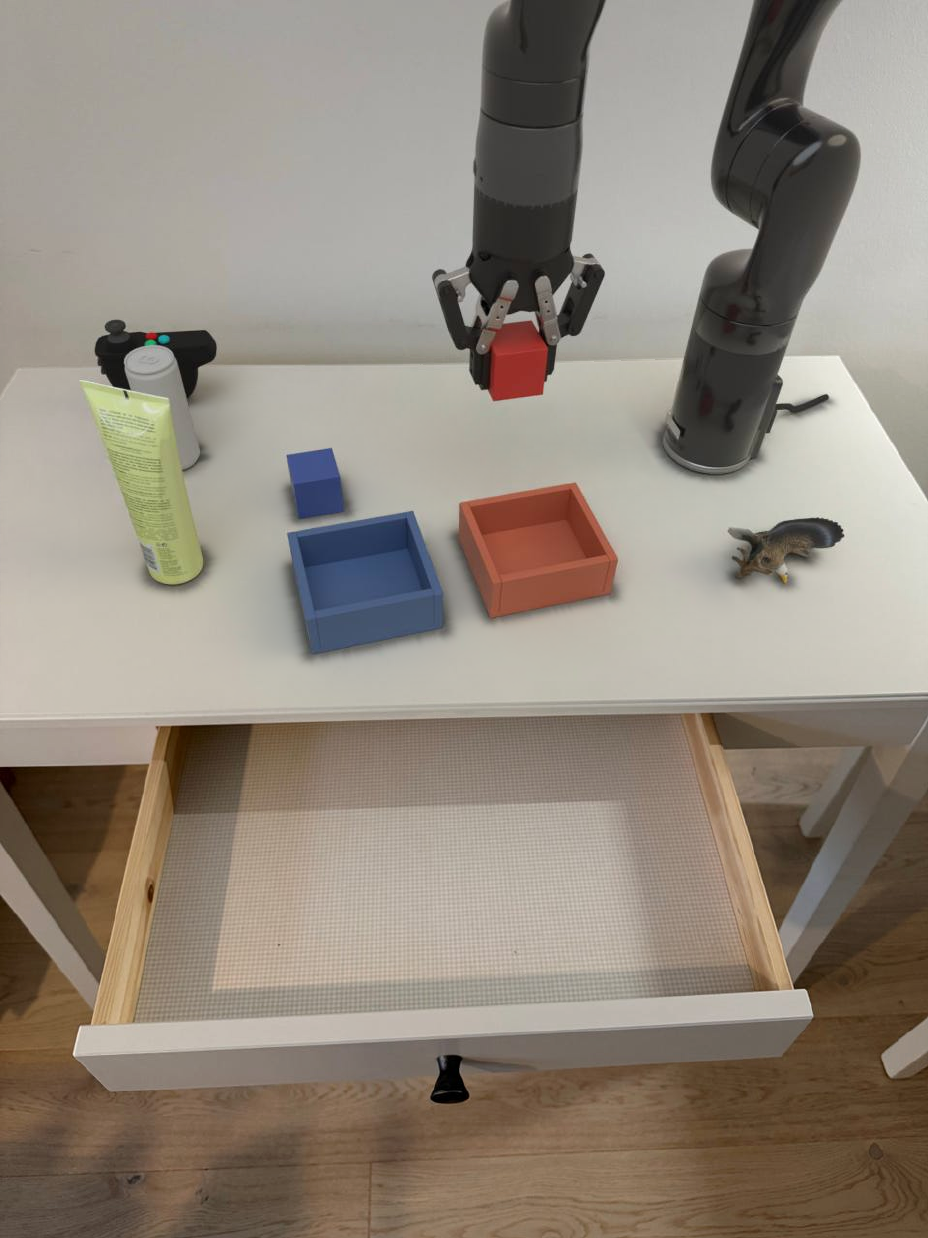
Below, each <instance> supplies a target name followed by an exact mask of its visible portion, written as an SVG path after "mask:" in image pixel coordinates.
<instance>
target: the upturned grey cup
mask: <svg viewBox="0 0 928 1238" xmlns="http://www.w3.org/2000/svg"><path fill="white" fill-rule="evenodd" d="M124 364H125V373H126V376H127V379H128V382H129V385H130V388H131V391H135V392H140V393H145V394H149V395H154V396H160V397H165V398H169V401H170V406H171V415H172V422H173V428H174V433H175V438H176V443H177V448H178V453H179V458H180V462H181V467H182V471H184V470H187V469H190V468H191V467H192V466H193V465H195V464H196V463H197V461H198V459H199V458H200V455H201V449H200V445H199V441H198V437H197V433H196V430H195V426H194V425H195V424H194V421H193V418H192V413H191V410H190V406H189V402H188V399H187V398H186V394H185V391H184V387H183V383H182V379H181V375H180V371H179V368H178V364H177V361H176V359H175V357H174V355H173V353H172V351H171V350H170V349H168V348H166V347H163V346H158V345H149V346H143V347H139V348H137V349H134V350H133V351H131V352H130V353H129V354H127V355H126V357H125V359H124Z"/></svg>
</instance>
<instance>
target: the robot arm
mask: <svg viewBox="0 0 928 1238" xmlns="http://www.w3.org/2000/svg"><path fill="white" fill-rule="evenodd" d="M843 1H844V0H753V1H752V5H751V10H750V14H749V18H748V22H747V27H746V31H745V35H744V39H743V43H742V46H741V49H740V53H739V56H738V60H737V64H736V68H735V71H734V74H733V77H732V82H731V84H730V89H729V92H728V94H727V95H728V96H727V99H726V102H725V105H724V109H723V112H722V116H721V119H720V123H719V126H718V130H717V135H716V138H715V142H714V146H713V151H712V157H711V162H710V163H711V164H710V187H711V190H712V193H713V196H714V198H715V199H716V201H717V202H718V203H719V204H720V205H721V206H722V207H723V208H724V209H725V210H727V211H728V212H729V213H731V214H732V215H734V216H736V217H737V218H739V219H741V220H742V221H744V222H745V223H747V224H749V225H750V226H752V227H753V228H755V229H756V230H758V231H757V235H756V238H755V241H754V244H753V247H752V248H740V249H734V250H729V251H726V252H723V253H720V254H719V255H717V256H715V257H714V258H713V259H712V260H711V261H710V262H709V263H708V264H707V267H706V269H705V272H704V275H703V278H702V281H701V286H700V291H699V295H698V298H697V303H696V307H695V311H694V315H693V319H692V323H691V327H690V331H689V335H688V340H687V344H686V348H685V352H684V356H683V360H682V364H681V368H680V373H679V375H678V379H677V380H678V381H677V385H676V389H675V393H674V397H673V401H672V405H671V410H670V413H669V412H668V411H667V412H666V416H665V423H666V427H665V430H664V434H663V438H662V444H663V448H664V450H665V452H666V453H667V455H668V456H669V457H670V458H671V459H672V460H673V461H674V462H676V463H677V464H678V465H680V466H682V467H684V468H686V469H689V470H691V471H694V472H698V473H703V474H709V475H723V474H730V473H733V472H736V471H738V470H740V469H741V468H744V467H745V466H746V465H747V464H748V462H749V461H750V460H751V459H756V458H758V455H759V454H760V451H761V448H762V445H763V443H764V439H765V436H766V434H770V433H771V431H772V428H773V425H774V422H775V420H776V417H777V414H778V411H782V410H783V411H788V412H789V413H799V412H803V411H805V410H809V409H811V408H813V407H815V406H817V405H819V404H822V403H824V402H826V401H828V400H829V399H830V396H829V395H828V394H827V393H824V394H822V395H819V396H817V397H815V398H813V399H811V400H809V401H806V402H804V403H801V404H797V405H793V404H792V403H789V402H788V403H787V402H783V403H782V402H780V403H778V400H779V396H780V394H781V392H782V389H783V386H784V381H783V378H782V377H781V376H780V375H779V372H780V369H781V366H782V363H783V360H784V358H785V354H786V352H787V348H788V346H789V343H790V339H791V337H792V334H793V331H794V328H795V325H796V322H797V319H798V316H799V314H800V311H801V308H802V305H803V303H804V300H805V299H806V297H807V295H808V293H809V292H810V290H811V289H812V287H813V286H814V284H815V282H816V281H817V279H818V278H819V276H820V274H821V272H822V270H823V267H824V265H825V263H826V260H827V258H828V255H829V253H830V250H831V248H832V245H833V242H834V240H835V238H836V235H837V233H838V230H839V228H840V226H841V223H842V221H843V219H844V216H845V215H846V214H845V213H846V211H847V209H848V206H849V205H850V202H851V199H852V196H853V193H854V191H855V188H856V185H857V181H858V178H859V175H860V169H861V164H862V163H861V161H862V148H861V143H860V141H859V139H858V137H857V135H856V134H855V133H854V132H853V131H852V130H850V129H849V128H847V127H846V126H844V125H843V124H840V123H838V122H836V121H834V120H832V119H830V118H828V117H826V116H824V115H822V114H819V113H817V112H816V111H813V110H811V109H809V108H808V107H806V106H804V99H805V92H806V89H807V83H808V80H809V75H810V71H811V68H812V64H813V61H814V57H815V55H816V51H817V49H818V46H819V43H820V40H821V38H822V36H823V33H824V31H825V29H826V27H827V25H828V23H829V21H830V19H831V18H832V17H833V15H834V13H835V12H836V11H837V9H838V7H839V6H840V5H841V3H842V2H843ZM606 3H607V0H505V1H502V2H501V3H500V4H498V5H497V6H496V7H495V8H493V10H492V11H491V12H490V14H489V16H488V18H487V19H486V23H485V27H484V33H483V40H482V54H481V75H480V107H479V120H478V125H477V131H476V135H475V136H476V137H475V148H474V149H475V150H474V159H473V163H472V173H473V177H474V178H473V179H474V180H473V184H474V185H473V207H472V209H473V210H472V211H473V212H472V238H471V239H472V243H471V245H472V246H471V251H470V253H469V255H468V257H467V259H466V262H465V266H463V267H461V268H458V269H456V270H453V271H450V272H447V271H446V270H445V269H442V268H438V269H436V270H435V271H434V272H433V273H432V275H431V279H432V283H433V285H434V289H435V293H436V296H437V299H438V302H439V305H440V309H441V312H442V316H443V318H444V321H445V325H446V328H447V331H448V333H449V336H450V338H451V340H452V341H453V344H454V346H455V348H456V350H457V351H464V350H466V349H468V350H469V366H468V372H469V374H470V375H471V378H472V381H473V383H474V385H475V386H478V387H479V389H480V391H488V389H489V388H490V373H491V355H492V354H491V352H490V348H491V345H492V343H493V340H494V338H495V335H496V332H497V331H500V329H501V327H502V325H503V324H504V322H505V320H506V317H507V316H508V315H509V316H510V315H514V314H516V313H520V312H524V313H525V312H526V313H534V316H535V320H536V323H537V328H538V332H539V334H540V336H541V337H542V339H543V341H544V343H545V344H546V346H547V348H548V354H547V363H546V372H545V381H544V383H546V382H548V376H552V375H553V372H554V371H555V363H556V355H557V348H558V344H559V343H560V341H561V340H562V339H563V338H564V337H567V336H571V337H576V336H578V335H580V334H581V332H582V331H583V328H584V326H585V323H586V321H587V318H588V316H589V314H590V311H591V309H592V307H593V304H594V302H595V299H596V297H597V295H598V292H599V290H600V288H601V286H602V283H603V280H604V279H605V276H606V271H605V269H604V268H603V267H602V265H601V263H600V262H599V260H598V259H597V258H596V257H595V255H593V253H590V252H589V253H586V254H583V256H577V255H573V253H572V250H571V244H572V241H573V235H574V225H575V216H576V210H577V202H578V193H579V192H578V191H579V184H580V175H581V169H582V168H581V167H582V159H583V150H584V149H583V148H584V109H585V101H586V100H585V99H586V92H587V83H588V75H589V67H590V56H591V55H590V54H591V46H592V42H593V39H594V36H595V33H596V30H597V27H598V25H599V23H600V20H601V17H602V15H603V12H604V9H605V6H606ZM568 277H569V279H570V281H571V283H570V285H569V287H568V291H567V293H566V295H565V298H564V300H563V303H562V306H561V308H560V311H559V313H557V309H556V304H555V300H554V295H555V294H556V293H557V291H558V290H559V288H560V287H561V286H562V284H563V283H564V282H565V281H566V280H567V278H568ZM470 284H472V286H473V287H474V289H476V291H477V292H478V297H477V301H476V303H475V306H474V307H475V308H474V311H475V313H474V316H473V319H472V322H471V325H470V326H469V325H466V324H465V321H464V317H463V314H462V310H461V307H460V304H459V303H462V302H463V301H464V299H465V297H466V288H467V286H468V285H470Z"/></svg>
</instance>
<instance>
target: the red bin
mask: <svg viewBox="0 0 928 1238" xmlns="http://www.w3.org/2000/svg"><path fill="white" fill-rule="evenodd" d="M457 536H458V540H459V543H460V545H461V548H462V550H463V554H464V555H465V559H466V560H467V563H468V566H469V568H470V570H471V573H472V575H473V578H474V580H475V584H476V586H477V588H478V591H479V593H480V595H481V598H482V601H483V603H484V605H485V608H486V611H487V613H488V615H489V618H490V619H492V618H497V617H502V616H503V617H504V616H508V615H513V614H518V613H522V612H527V611H531V610H536V609H541V608H547V607H552V606H556V605H562V604H566V603H571V602H575V601H576V602H577V601H582V600H586V599H591V598H596V597H600V596H606V595H610V594H611V593H612V588H613V584H614V580H615V574H616V570H617V568H618V567H617V566H618V562H619V557H618V556H617V553H615V551H614V548H613V547H612V545H611V543H610V541H609V540H608V538H607V536H606V534H605V532H604V531H603V528H602V527H601V525H600V523H599V522H598V519H597V518H596V516H595V514H594V512H593V511H592V509H591V507H590V505H589V503H588V502H587V499H586V498H585V495H584V494H583V493H582V491H581V489H580V487H579V485H578V483H577V482H576V481H575V482H569V483H563V484H558V485H552V486H547V487H540V488H535V489H528V490H522V491H518V492H517V491H516V492H511V493H505V494H500V495H494V496H487V497H483V498H476V499H471V500H467V501H462V502H459V505H458V535H457Z"/></svg>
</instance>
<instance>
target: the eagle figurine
mask: <svg viewBox="0 0 928 1238" xmlns="http://www.w3.org/2000/svg"><path fill="white" fill-rule="evenodd" d="M844 530H845V529H843V528H842V525H840V524H839V522H837V521H834V520H832V519H829V518H824V517H818V516H817V517H807V518H794V519H788V520H782V521H779V522H778V523H777V524H776V525H774V526H773V527H772V528H771V529H769V530H765V531H758V532H753V531H751V529H749V528H743V527H734V526H733V527H731V526H730V527H728V528H727V533H728V534H729V535H730V536H731V537H732V538H733V539H735V540H738V541H741V542H747V543H748V544H749V545H750V546H751V549H750V551H749V550H748V549H747V548H744V547H741V546H738V547H736V550H738V551H740V552H741V554H742V557H743V558H742V559H740V557H738V556H736V555H732V556H731V560H732V561H734V562H736V563H738V565H739V566H740V568H739V571H738V572H737V573H736V574H735V579H741V578H747V577H748V576H751V575H752V574H753V573H754V572H755V573H761V574H764V575H767V576H769V575H771V574H774V573H775V572H776V573H777V574H778V576H779V577H780V578H781V579H782V581H783V583H784V584H785V583H787V581H788V576H789V570H788V568H787V565H786V563H785V561H784V559H785V557H786V555H788V554H789V553H790V554H796V555H798V556H803V557H804V558H811V551H809V550H811V549H819V550H820V549H830V548H833V547H835V545H836V544H837V543H839V542H841V541H842V539H843V538H845V534H844V533H843V532H844ZM763 562H764V563H765V564H766V565H768V567H770V568H767V567H763V566H762V563H763Z"/></svg>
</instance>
